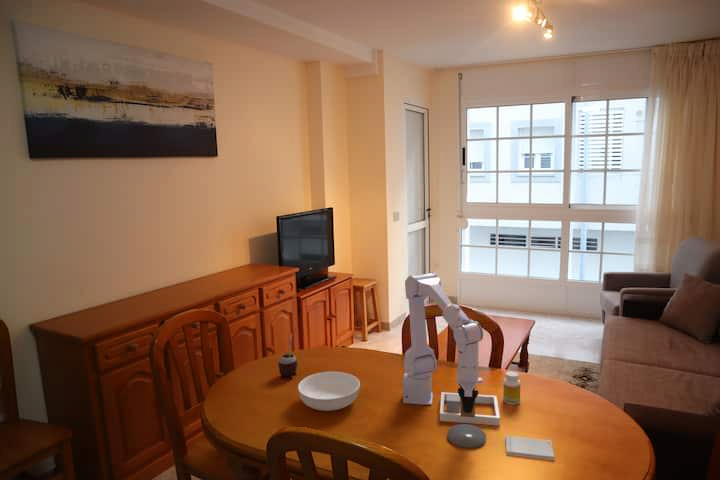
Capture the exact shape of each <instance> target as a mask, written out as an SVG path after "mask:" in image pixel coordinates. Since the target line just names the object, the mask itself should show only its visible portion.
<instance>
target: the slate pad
mask: <svg viewBox="0 0 720 480" xmlns="http://www.w3.org/2000/svg"><path fill="white" fill-rule="evenodd" d="M446 436H447V440H448V441H449V442H450V443H451V444H452V445H454V446H456V447H457V448H463V449H472V450H473V449H476V448H481V447H482V446H484V445H485V444H486V442H487V435H486V433H485V431H484V430H483V429H481V428H480V427H478V426H475V425H473V424H469V423H461V424H455V425H452V426H451V427H449V429H447V435H446Z"/></svg>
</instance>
